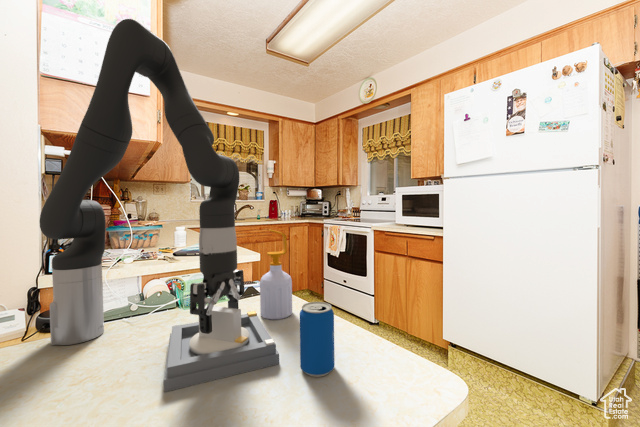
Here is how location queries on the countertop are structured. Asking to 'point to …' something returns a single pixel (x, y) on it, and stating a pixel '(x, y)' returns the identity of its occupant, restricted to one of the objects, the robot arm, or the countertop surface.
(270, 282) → the soap bottle
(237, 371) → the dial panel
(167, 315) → the countertop surface
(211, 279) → the robot arm
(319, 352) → the beverage can
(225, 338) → the dial knob
